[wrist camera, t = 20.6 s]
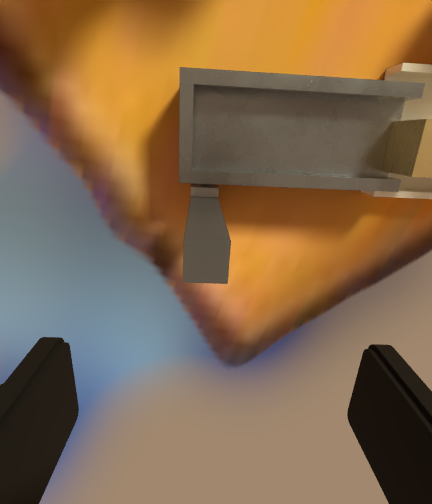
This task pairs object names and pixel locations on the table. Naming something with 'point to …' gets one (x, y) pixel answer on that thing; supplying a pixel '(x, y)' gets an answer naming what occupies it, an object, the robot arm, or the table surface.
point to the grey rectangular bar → (206, 238)
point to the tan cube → (410, 148)
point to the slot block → (288, 129)
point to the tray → (413, 110)
